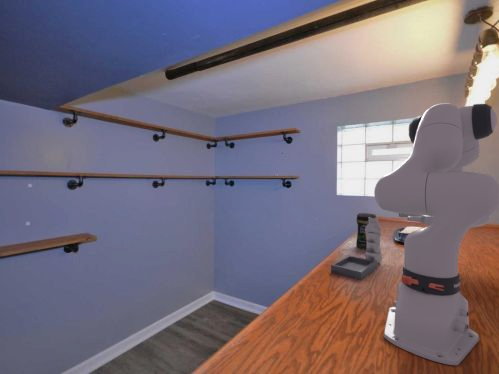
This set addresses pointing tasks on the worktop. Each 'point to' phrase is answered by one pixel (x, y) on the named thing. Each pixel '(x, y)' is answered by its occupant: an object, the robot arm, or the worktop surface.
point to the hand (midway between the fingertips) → (403, 216)
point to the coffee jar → (362, 229)
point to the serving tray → (354, 267)
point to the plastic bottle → (373, 240)
